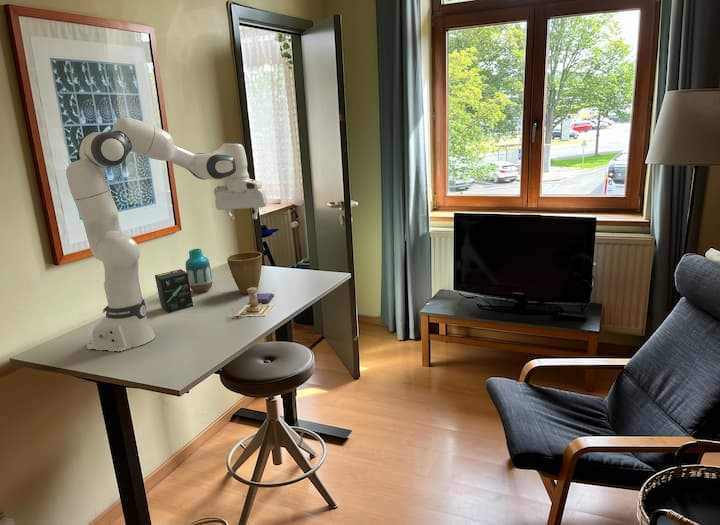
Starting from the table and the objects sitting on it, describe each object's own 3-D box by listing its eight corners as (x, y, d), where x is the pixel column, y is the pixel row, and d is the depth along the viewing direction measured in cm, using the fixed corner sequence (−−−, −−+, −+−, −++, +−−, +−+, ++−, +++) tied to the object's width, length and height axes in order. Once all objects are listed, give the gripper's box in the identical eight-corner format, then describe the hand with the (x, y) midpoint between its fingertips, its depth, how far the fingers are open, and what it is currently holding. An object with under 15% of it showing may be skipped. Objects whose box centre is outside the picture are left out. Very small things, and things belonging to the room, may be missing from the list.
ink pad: (249, 304, 213) (249, 299, 212) (256, 297, 221) (255, 293, 220) (268, 303, 212) (268, 299, 211) (274, 296, 219) (273, 292, 219)
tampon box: (186, 301, 223) (180, 268, 219) (194, 306, 216) (188, 272, 212) (160, 308, 217) (153, 274, 213) (167, 313, 210) (160, 278, 206)
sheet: (234, 317, 200) (234, 316, 200) (245, 305, 211) (245, 304, 211) (265, 316, 198) (265, 315, 198) (274, 304, 209) (274, 304, 209)
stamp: (246, 312, 202) (243, 291, 200) (250, 308, 207) (247, 286, 205) (258, 312, 202) (255, 290, 199) (263, 307, 207) (260, 286, 204)
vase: (185, 294, 232) (177, 253, 227) (199, 286, 242) (192, 246, 237) (205, 295, 229) (198, 253, 224) (218, 287, 238) (212, 246, 233)
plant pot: (253, 297, 220) (247, 261, 216) (225, 295, 227) (219, 259, 223) (273, 286, 233) (268, 251, 229) (246, 284, 240) (241, 250, 235)
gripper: (210, 187, 202) (215, 222, 206) (260, 184, 199) (265, 219, 203) (216, 185, 208) (221, 219, 212) (265, 181, 205) (270, 216, 209)
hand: (243, 219), depth 207 cm, fingers open, 8 cm apart
